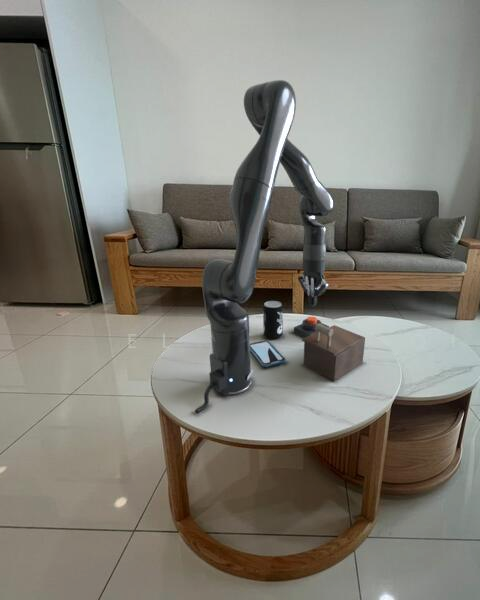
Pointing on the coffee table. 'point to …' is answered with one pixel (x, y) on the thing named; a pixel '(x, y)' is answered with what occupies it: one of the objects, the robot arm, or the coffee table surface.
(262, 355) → the smartphone
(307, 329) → the button base
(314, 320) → the button
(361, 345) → the keepsake box
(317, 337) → the lid
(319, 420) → the coffee table surface
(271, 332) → the beverage can
